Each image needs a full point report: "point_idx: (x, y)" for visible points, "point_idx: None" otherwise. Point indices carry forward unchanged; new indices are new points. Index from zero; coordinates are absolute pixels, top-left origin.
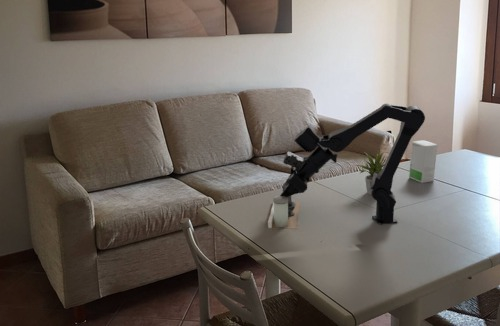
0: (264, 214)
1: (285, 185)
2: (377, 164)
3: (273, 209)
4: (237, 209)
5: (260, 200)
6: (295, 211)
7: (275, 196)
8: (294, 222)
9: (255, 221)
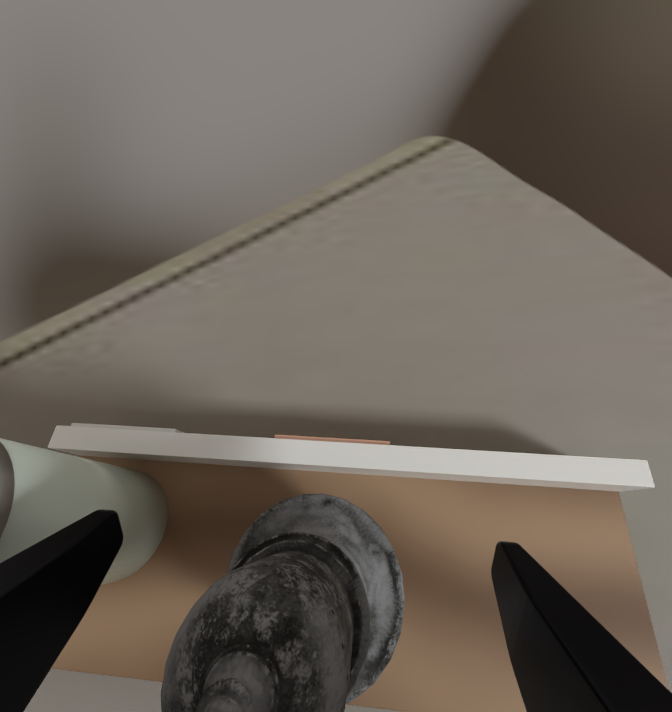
0: (384, 402)
1: (178, 639)
2: None
3: (304, 454)
4: (451, 255)
5: (650, 362)
6: (394, 668)
7: (640, 463)
8: (138, 646)
9: (268, 358)
